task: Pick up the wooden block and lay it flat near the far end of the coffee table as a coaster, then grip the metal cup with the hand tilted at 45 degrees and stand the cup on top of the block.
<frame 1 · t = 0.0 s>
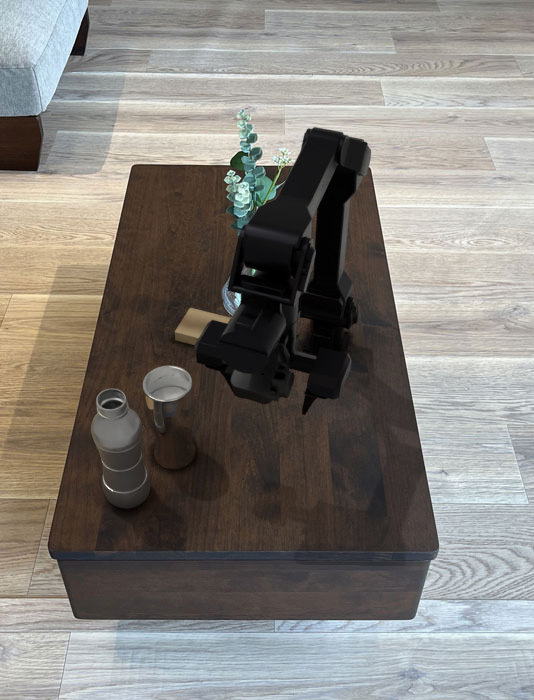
hand: (270, 403, 104), 15 cm above the table, tool pointing down, fingers open, 9 cm apart
plastic bottle: (128, 496, 111), on the table
wooden block: (203, 333, 134), on the table
metal cup: (174, 453, 116), on the table
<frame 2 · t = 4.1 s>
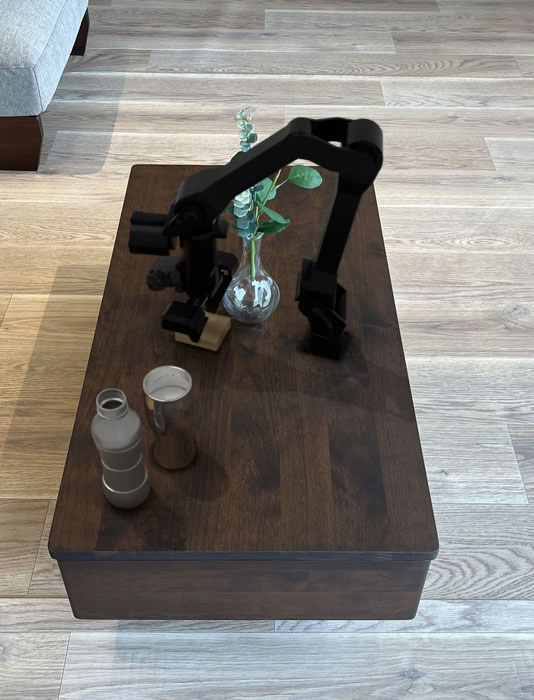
hand: (203, 328, 134), 1 cm above the table, tool pointing down, fingers closed on wooden block, 6 cm apart
wooden block: (203, 333, 134), on the table, touching gripper
everything else where it was.
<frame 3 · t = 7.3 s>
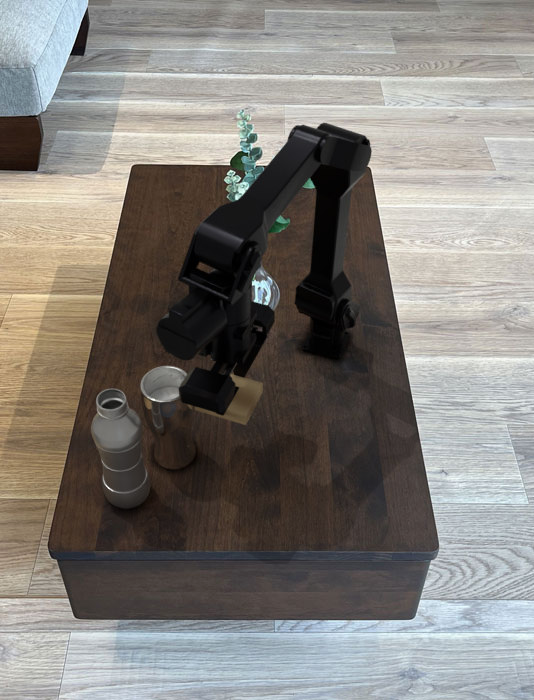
hand: (229, 396, 109), 11 cm above the table, tool pointing down, fingers closed on wooden block, 6 cm apart
wooden block: (229, 401, 110), point 10 cm above the table, touching gripper
everything else where it was.
when the fingers open (1 cm above the table, at t = 10.8 s): wooden block stays where it is, on the table.
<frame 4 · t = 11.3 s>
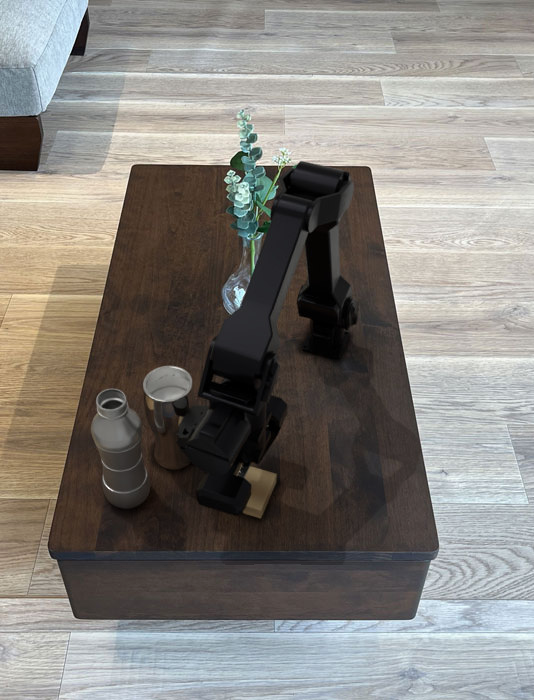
hand: (244, 487, 110), 1 cm above the table, tool pointing down, fingers open, 9 cm apart
wooden block: (243, 492, 111), on the table
everything else where it was.
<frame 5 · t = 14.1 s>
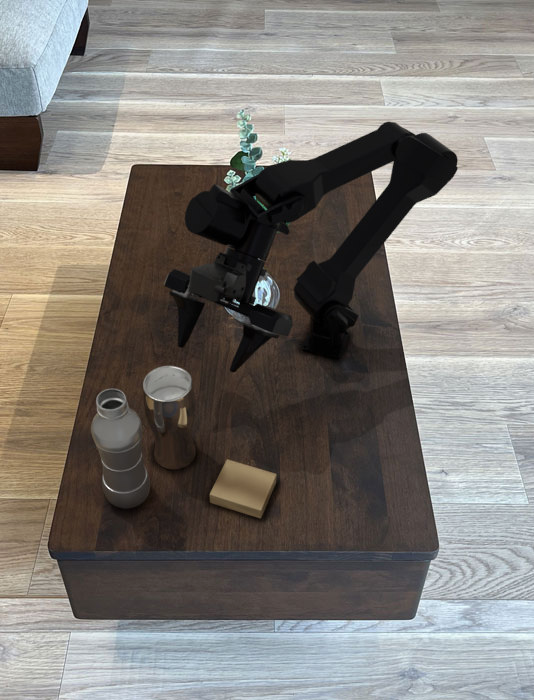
hand: (205, 359, 111), 13 cm above the table, tool tilted 45°, fingers open, 9 cm apart
nothing on the table moved.
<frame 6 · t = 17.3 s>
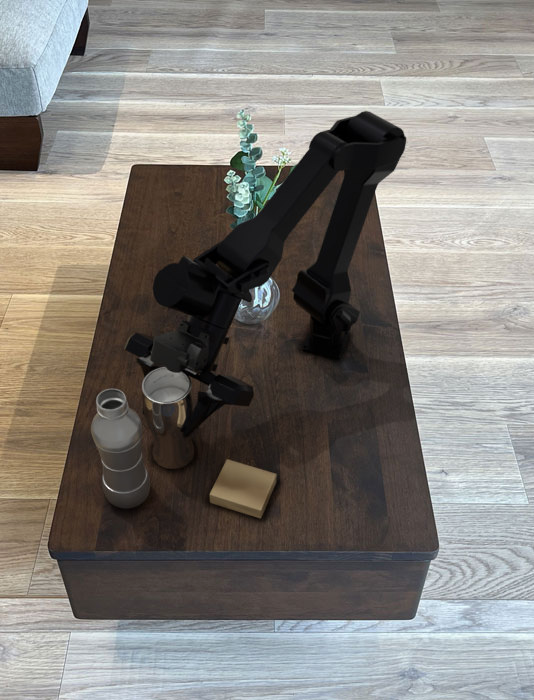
hand: (164, 425, 110), 8 cm above the table, tool tilted 45°, fingers closed on metal cup, 7 cm apart
metal cup: (173, 453, 116), on the table, touching gripper
everything else where it was.
when the fingers open (10 cm above the table, at t = 21.8 s): metal cup stays where it is, resting on wooden block.
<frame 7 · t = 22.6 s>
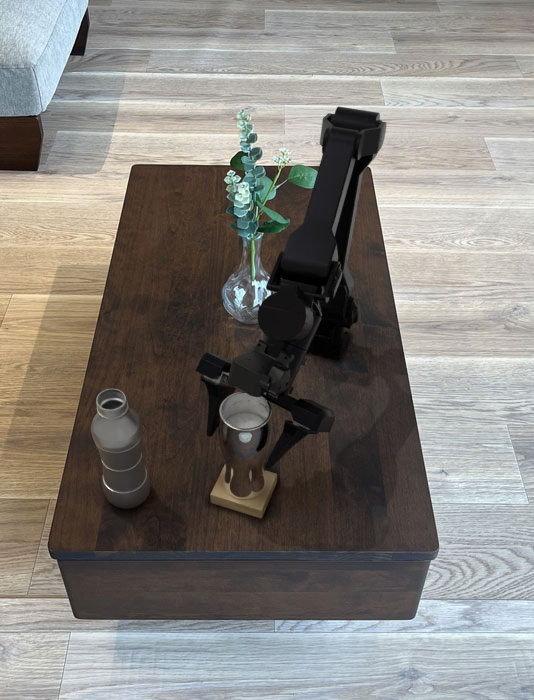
hand: (237, 452, 103), 11 cm above the table, tool tilted 45°, fingers open, 9 cm apart
wooden block: (244, 492, 111), on the table, touching metal cup
metal cup: (244, 482, 110), point 2 cm above the table, touching gripper, wooden block
everything else where it was.
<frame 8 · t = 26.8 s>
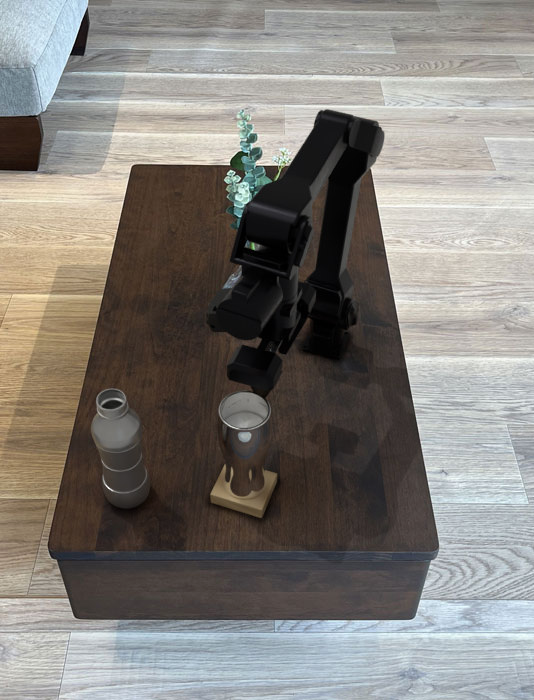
hand: (272, 375, 109), 13 cm above the table, tool pointing down, fingers open, 9 cm apart
metal cup: (245, 482, 110), point 2 cm above the table, touching wooden block
everything else where it was.
at the end: wooden block inside the target area (0.1 cm from its centre), on the table; metal cup 0.4 cm off-centre on the wooden block, point 1.8 cm above the wooden block's base; metal cup tilted 0° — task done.
